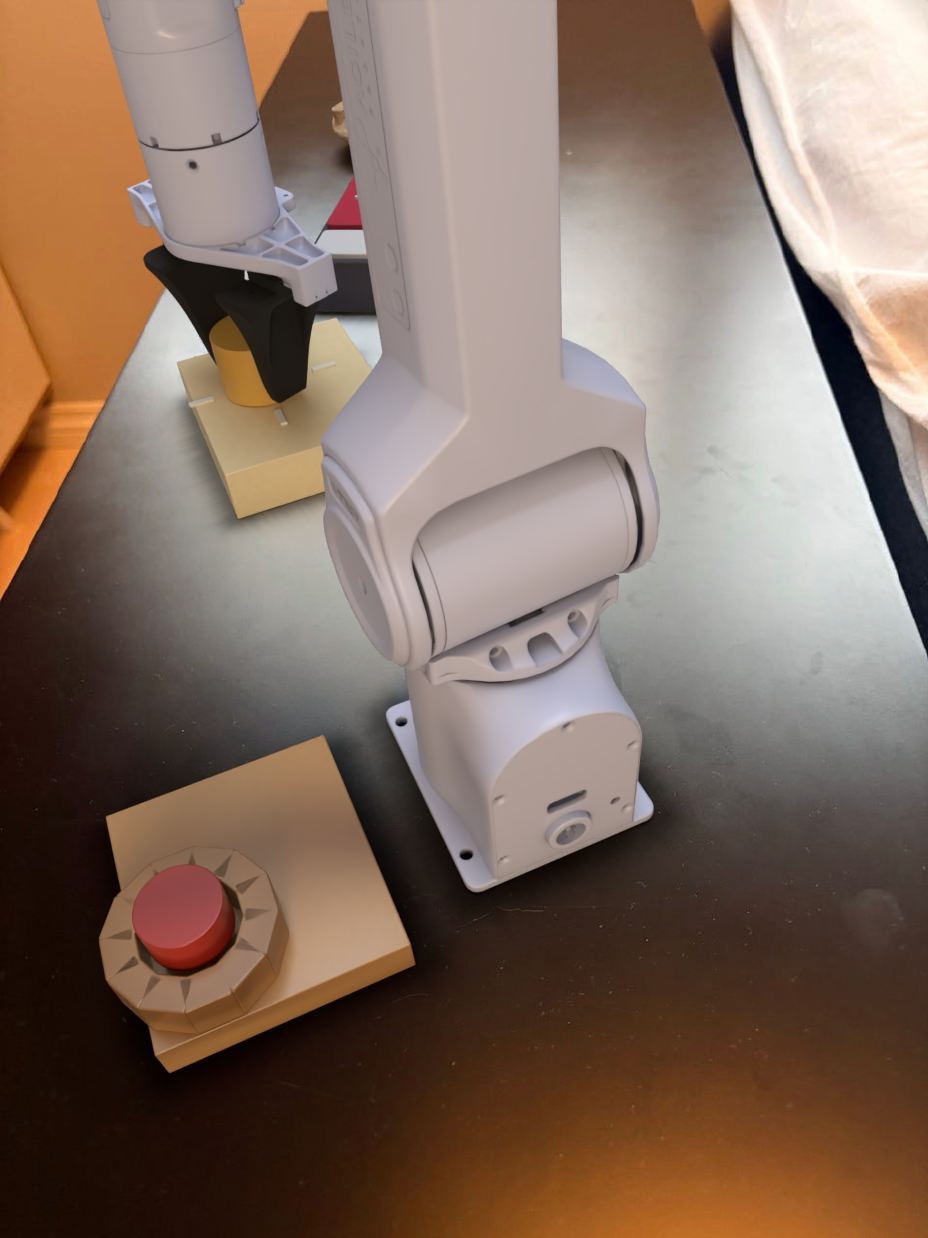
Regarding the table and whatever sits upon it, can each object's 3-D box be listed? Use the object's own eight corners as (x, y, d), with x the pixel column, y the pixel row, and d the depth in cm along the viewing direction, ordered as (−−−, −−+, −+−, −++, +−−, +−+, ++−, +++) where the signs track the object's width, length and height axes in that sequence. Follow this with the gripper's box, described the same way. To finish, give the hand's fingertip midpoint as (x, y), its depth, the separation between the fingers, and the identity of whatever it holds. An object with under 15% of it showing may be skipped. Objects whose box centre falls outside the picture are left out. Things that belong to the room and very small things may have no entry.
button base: (416, 965, 36) (405, 920, 33) (150, 1082, 33) (116, 1044, 31) (330, 757, 42) (315, 707, 40) (103, 844, 40) (72, 797, 37)
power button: (245, 949, 33) (233, 925, 32) (157, 987, 32) (140, 964, 31) (224, 876, 35) (211, 850, 34) (139, 909, 34) (124, 885, 33)
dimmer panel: (411, 464, 55) (405, 417, 53) (232, 521, 53) (218, 474, 51) (343, 359, 63) (335, 314, 61) (185, 405, 61) (170, 360, 59)
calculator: (497, 162, 73) (468, 250, 63) (499, 220, 76) (471, 314, 66) (352, 163, 75) (299, 249, 64) (359, 220, 78) (311, 312, 67)
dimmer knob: (258, 416, 54) (242, 355, 51) (209, 389, 56) (191, 329, 54) (318, 379, 56) (305, 319, 54) (268, 354, 58) (253, 295, 56)
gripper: (366, 132, 44) (401, 391, 54) (180, 69, 52) (241, 307, 62) (240, 189, 41) (301, 453, 51) (61, 113, 48) (145, 357, 58)
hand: (262, 377), depth 56 cm, fingers closed on dimmer knob, 4 cm apart
